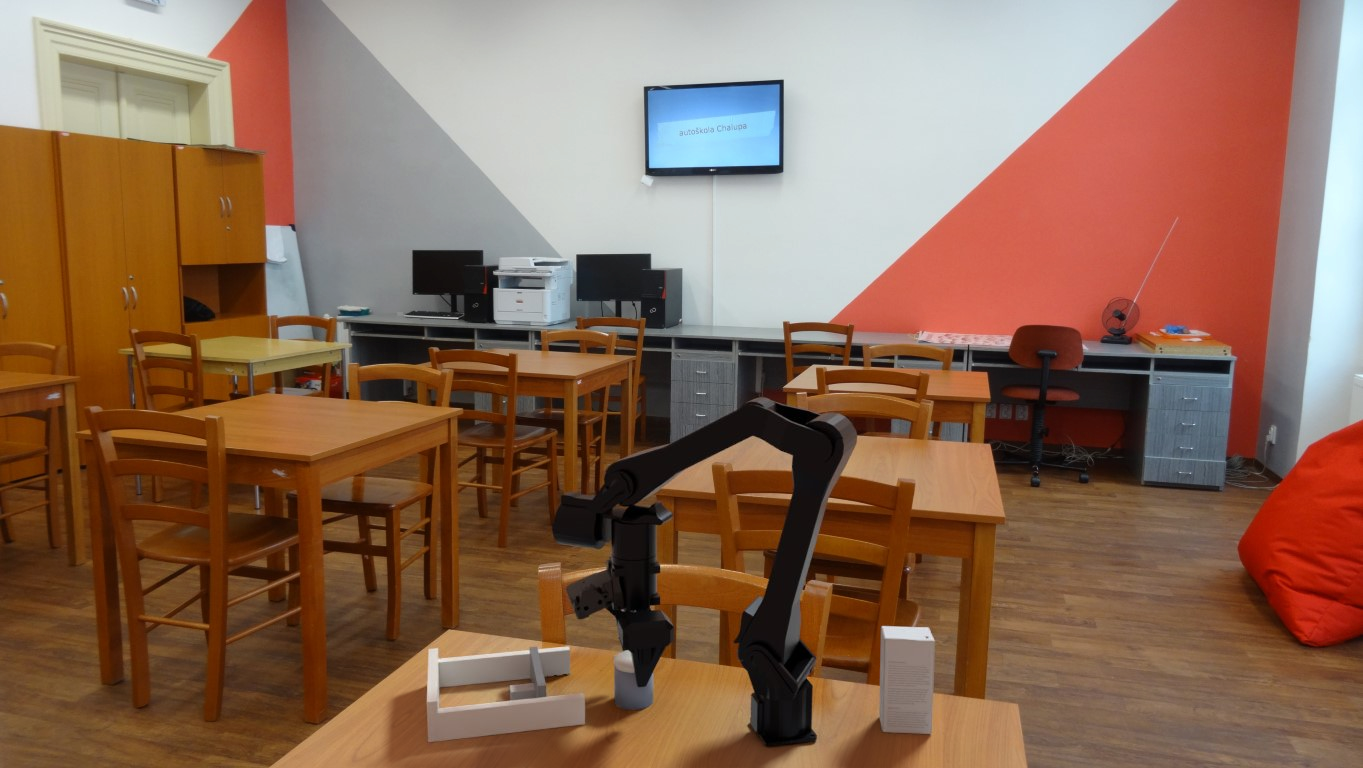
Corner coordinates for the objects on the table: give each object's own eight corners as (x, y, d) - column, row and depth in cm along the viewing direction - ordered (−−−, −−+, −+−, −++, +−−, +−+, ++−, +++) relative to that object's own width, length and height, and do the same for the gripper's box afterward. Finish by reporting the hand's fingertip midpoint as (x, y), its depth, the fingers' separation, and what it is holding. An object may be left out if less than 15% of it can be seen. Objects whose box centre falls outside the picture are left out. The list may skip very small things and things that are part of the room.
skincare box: (926, 718, 119) (930, 626, 117) (932, 735, 115) (936, 640, 113) (877, 715, 119) (880, 624, 118) (880, 732, 115) (884, 638, 113)
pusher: (537, 677, 129) (537, 646, 128) (546, 719, 117) (546, 685, 117) (507, 680, 128) (506, 649, 127) (513, 722, 117) (513, 688, 116)
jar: (649, 689, 126) (649, 648, 125) (657, 707, 121) (658, 664, 120) (610, 693, 125) (610, 651, 124) (617, 712, 120) (617, 668, 119)
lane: (569, 670, 132) (568, 635, 131) (585, 724, 117) (584, 685, 116) (430, 684, 127) (428, 648, 127) (428, 742, 112) (426, 702, 112)
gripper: (561, 536, 127) (563, 647, 129) (580, 583, 109) (582, 711, 112) (643, 530, 130) (643, 639, 132) (675, 576, 112) (674, 701, 114)
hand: (634, 670), depth 122 cm, fingers open, 9 cm apart
